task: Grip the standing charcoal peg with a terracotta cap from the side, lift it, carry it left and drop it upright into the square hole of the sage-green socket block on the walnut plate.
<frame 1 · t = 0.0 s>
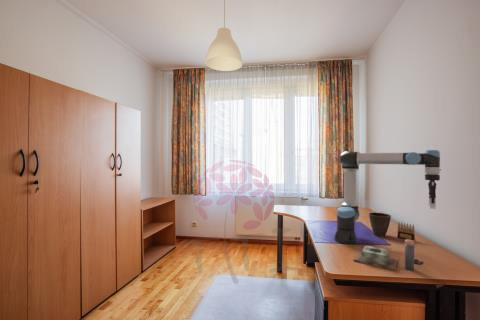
hand: (432, 207, 156), 28 cm above the table, tool pointing down, fingers open, 13 cm apart
plant pot: (379, 235, 189), on the table
socket: (375, 260, 138), on the table
peg: (409, 269, 128), on the table
blender logo cutout: (412, 260, 141), on the table
ammunition clip: (405, 239, 179), on the table
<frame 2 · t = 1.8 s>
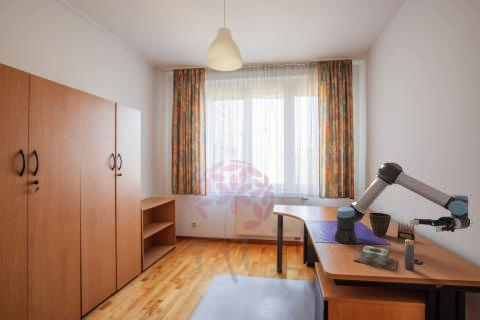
hand: (422, 226, 132), 22 cm above the table, tool horizontal, fingers open, 13 cm apart
nothing on the table moved.
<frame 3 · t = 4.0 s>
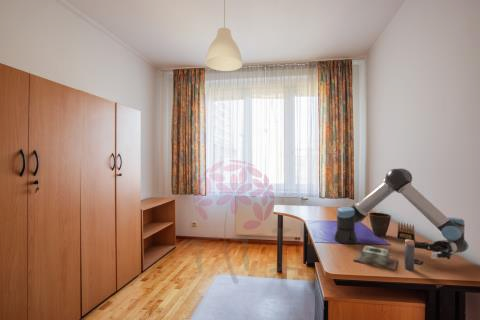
hand: (418, 251, 130), 9 cm above the table, tool horizontal, fingers open, 13 cm apart
nothing on the table moved.
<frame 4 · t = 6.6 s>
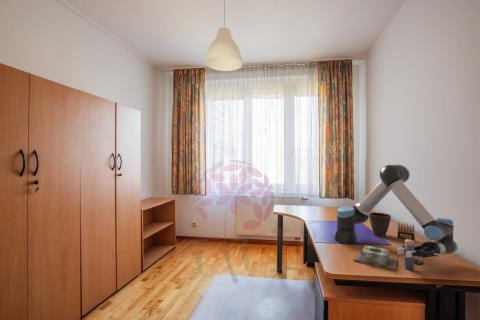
hand: (402, 253, 126), 9 cm above the table, tool horizontal, fingers closed on peg, 4 cm apart
peg: (409, 269, 128), on the table, touching gripper
everything else where it was.
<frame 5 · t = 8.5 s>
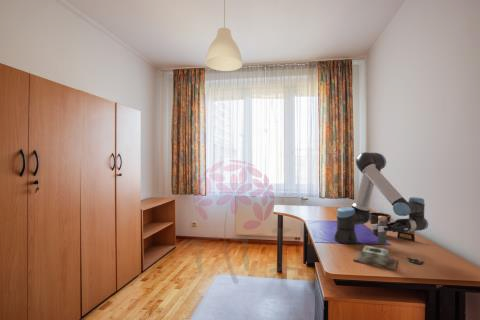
hand: (374, 228, 134), 20 cm above the table, tool horizontal, fingers closed on peg, 4 cm apart
peg: (381, 243, 136), point 11 cm above the table, touching gripper
everything else where it was.
when the fingers open (12 cm above the table, at t = 10.6 s): peg drops 1 cm, resting on socket.
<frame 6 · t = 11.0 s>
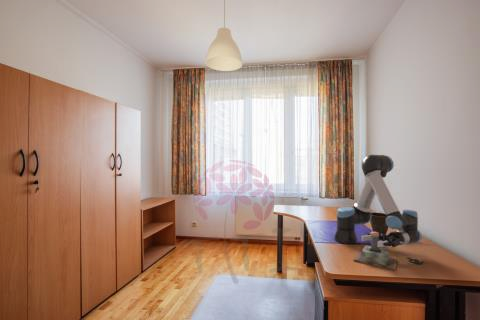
hand: (369, 241, 137), 11 cm above the table, tool horizontal, fingers open, 10 cm apart
peg: (375, 259, 138), point 1 cm above the table, touching socket
everything else where it was.
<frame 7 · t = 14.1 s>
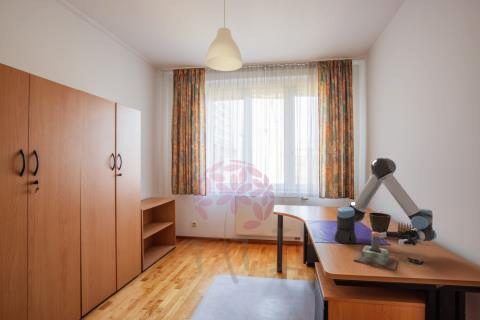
hand: (387, 239, 141), 12 cm above the table, tool horizontal, fingers open, 13 cm apart
nothing on the table moved.
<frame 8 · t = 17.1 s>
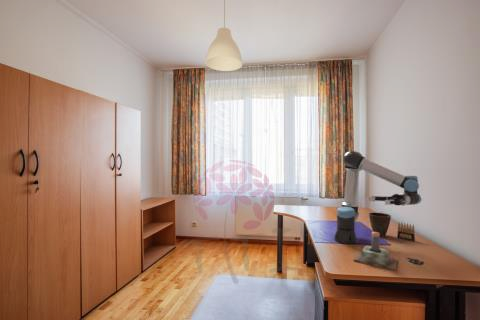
hand: (375, 200, 154), 32 cm above the table, tool horizontal, fingers open, 13 cm apart
nothing on the table moved.
at the end: peg 0.0 cm off-centre on the socket, point 1.0 cm above the socket's base; peg tilted 0°; the gripper is holding nothing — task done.
